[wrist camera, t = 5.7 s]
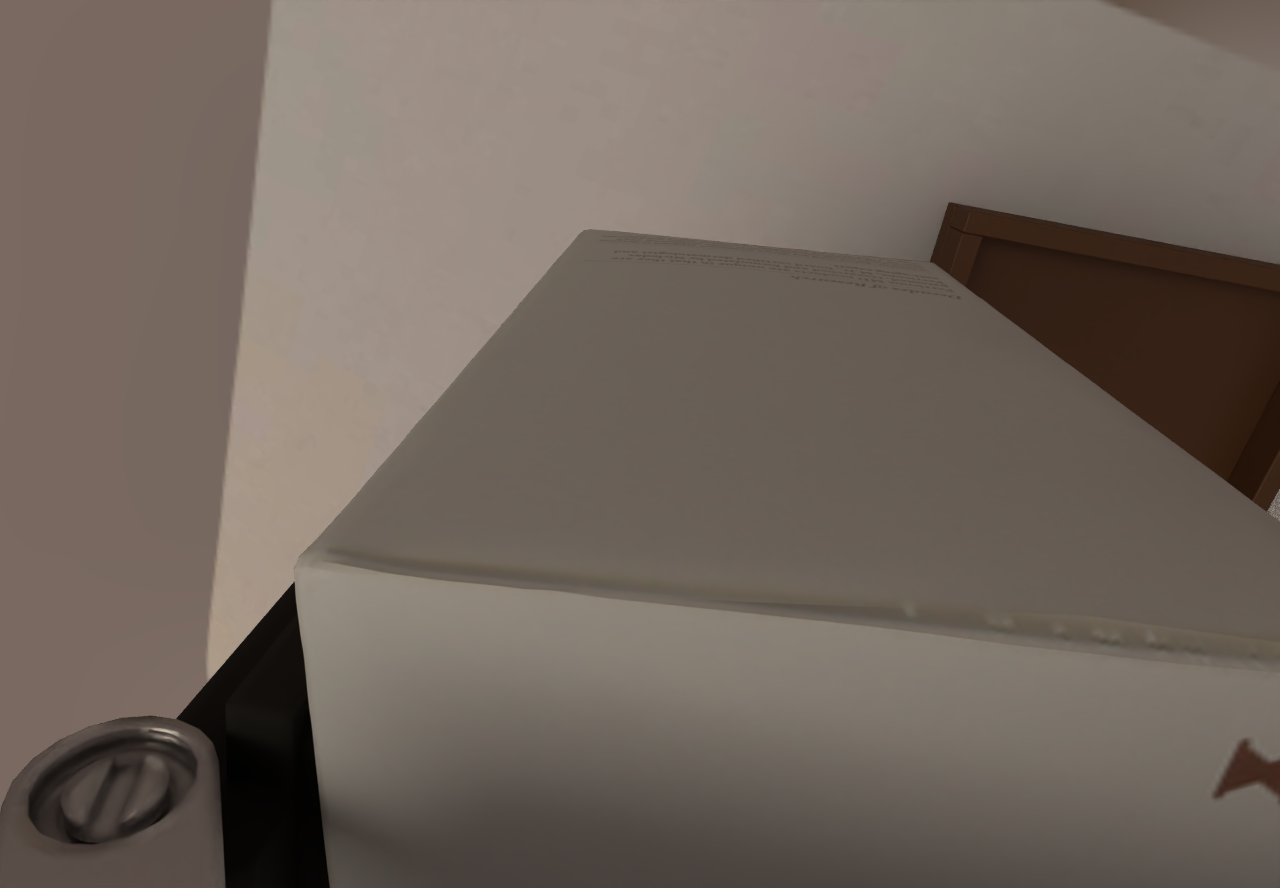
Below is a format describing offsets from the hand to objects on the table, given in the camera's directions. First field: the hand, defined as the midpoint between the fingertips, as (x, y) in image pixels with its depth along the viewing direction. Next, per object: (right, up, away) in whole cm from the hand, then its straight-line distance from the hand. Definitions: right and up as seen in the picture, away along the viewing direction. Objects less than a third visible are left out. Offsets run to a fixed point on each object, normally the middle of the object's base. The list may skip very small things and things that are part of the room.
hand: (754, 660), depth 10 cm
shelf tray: (+17, +5, +24) cm, 30 cm away
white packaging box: (+1, +3, +8) cm, 9 cm away
